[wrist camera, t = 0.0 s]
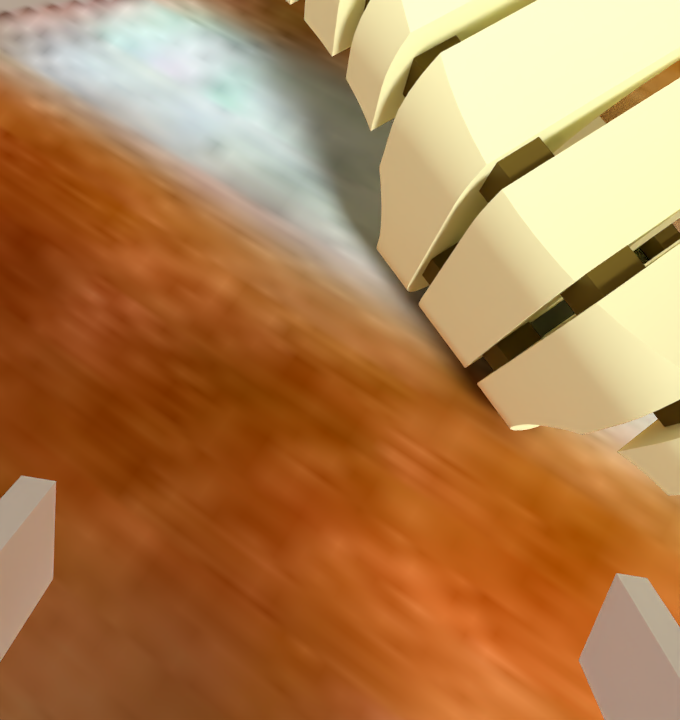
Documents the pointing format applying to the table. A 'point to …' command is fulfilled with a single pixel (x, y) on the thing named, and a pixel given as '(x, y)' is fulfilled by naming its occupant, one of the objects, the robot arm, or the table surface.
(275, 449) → the table surface
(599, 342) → the slatted curved stool
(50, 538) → the robot arm
